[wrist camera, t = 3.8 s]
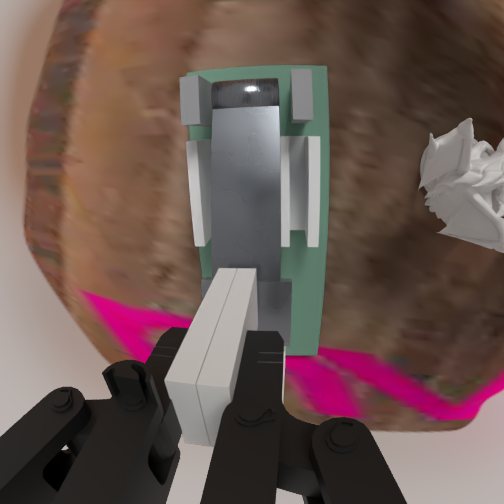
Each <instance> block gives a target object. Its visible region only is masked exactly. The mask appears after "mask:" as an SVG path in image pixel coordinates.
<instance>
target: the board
mask: <svg viewBox="0 0 504 504" xmlns="http://www.w3.org/2000/svg"><path fill="white" fill-rule="evenodd" d="M259 78H278V81H279V99H280V145H281V278H282V279H292V304H291V336H290V347H288V346H286V354H285V355H317V353H318V345H319V336H320V327H321V317H322V306H323V295H324V282H325V269H326V253H327V235H328V211H329V100H328V77H327V66H315V65H268V66H247V67H234V68H222V69H213V70H204V71H196V72H189V73H187V77H180V102H181V123H182V126H189V132H190V141H186V149H187V163H188V177H189V189H190V201H191V211H192V222H193V232H194V241H195V246H199V253H200V262H201V271H202V279H204V278H205V277H212V256H211V158H212V116H213V109H212V102H211V88H212V84H213V82H217V81H228V80H241V79H259Z"/></svg>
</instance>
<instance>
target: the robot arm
mask: <svg viewBox="0 0 504 504" xmlns="http://www.w3.org/2000/svg"><path fill="white" fill-rule="evenodd" d="M257 328H258V306H257V275H256V268H238V269H237V268H219V269H218V271H217V273H216V275H215V277H214V279H213V281H212V283H211V285H210V287H209V289H208V291H207V293H206V295H205V297H204V299H203V301H202V303H201V305H200V307H199V309H198V311H197V313H196V315H195V317H194V319H193V322H192V324H191V326H190V328H178V327H172V328H170V329H169V330H168V331H167V332H165V333H164V334H163V335H162V336H161V337H160V339H159V341H158V342H157V344H156V347H154V349H153V351H152V353H151V355H150V356H149V358H148V359H147V361H146V363H145V364H144V363H142V362H139V361H136V360H124V361H120V362H116V363H114V364H112V365H110V366H108V367H107V368H106V369H105V370H104V371H103V372H102V374H103V376H104V379H105V381H106V383H107V386H108V388H109V390H110V392H111V395H112V397H111V399H102V400H85V398H84V397H83V395H82V393H81V392H80V391H79V390H78V389H76V388H73V387H61V388H58V389H55V390H53V391H52V392H50V393H49V394H48V395H47V396H46V397H44V398H43V399H42V400H41V401H40V402H39V403H38V404H36V405H35V406H34V407H33V408H32V409H31V410H30V411H28V412H27V413H26V414H25V415H24V416H23V417H22V418H21V419H20V420H19V421H17V422H16V423H15V424H14V425H13V426H12V427H11V428H10V429H9V430H7V431H6V432H5V433H4V434H3V435H2V436H1V437H0V504H166V501H167V497H168V495H169V491H170V488H171V485H172V482H173V479H174V475H175V472H176V469H177V466H178V463H179V459H180V450H179V448H178V443H179V440H180V437H181V434H182V436H183V438H184V441H185V443H189V444H195V445H202V446H212V447H214V450H213V454H212V459H211V462H210V467H209V470H208V474H207V478H206V483H205V486H204V490H203V494H202V499H201V502H200V504H275V501H276V490H277V488H279V489H283V490H286V491H289V492H293V493H296V494H300V495H302V497H303V500H304V504H407V502H406V501H405V498H404V496H403V494H402V492H401V490H400V488H399V487H398V485H397V483H396V481H395V479H394V477H393V475H392V473H391V471H390V469H389V467H388V465H387V463H386V461H385V459H384V457H383V455H382V453H381V451H380V449H379V447H378V445H377V444H376V442H375V440H374V438H373V436H372V434H371V432H370V431H369V430H368V428H367V427H366V426H365V425H364V424H363V423H361V422H359V421H357V420H355V419H351V418H346V417H340V418H332V419H330V420H327V421H325V422H323V423H321V424H320V425H315V424H311V423H307V422H304V421H301V420H298V419H296V418H295V417H293V416H291V415H290V414H289V413H288V412H287V411H286V409H285V407H284V405H283V401H282V388H283V361H284V340H283V338H282V337H281V335H280V334H279V332H278V331H257ZM65 445H67V447H68V449H67V450H61V449H62V448H63V447H64V446H65Z"/></svg>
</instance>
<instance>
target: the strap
mask: <svg viewBox="0 0 504 504" xmlns="http://www.w3.org/2000/svg"><path fill="white" fill-rule="evenodd" d="M211 102H212V109H213V116H212V158H211V256H212V277H205V278H204V279H202V280H201V291H202V301H203V299H204V297H205V295H206V293H207V291H208V289H209V287H210V285H211V283H212V281H213V279H214V277H215V275H216V273H217V271H218V269H219V268H237V269H238V268H256V275H257V306H258V328H257V331H278V332H279V334H280V335H281V337H282V338H283V340H284V346H288V347H290V336H291V304H292V279H282V278H281V145H280V99H279V81H278V78H259V79H241V80H228V81H217V82H213V84H212V88H211Z"/></svg>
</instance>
